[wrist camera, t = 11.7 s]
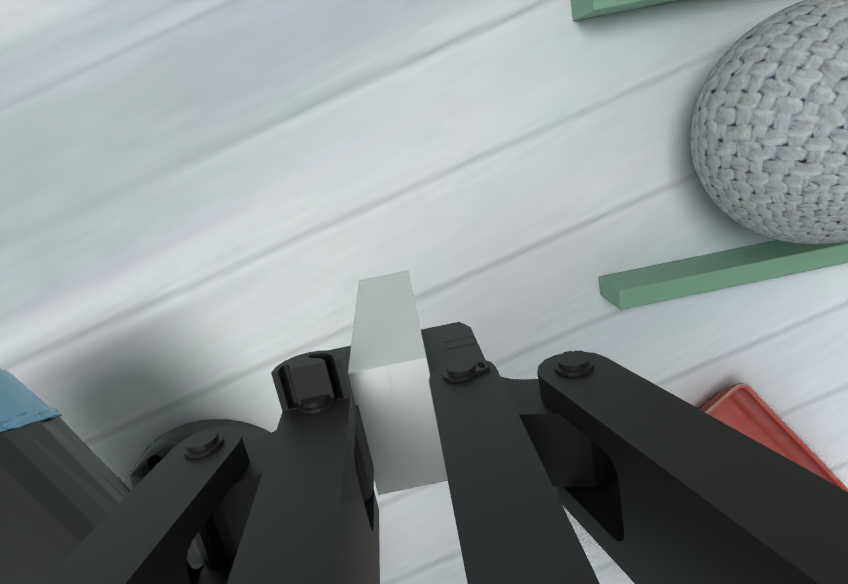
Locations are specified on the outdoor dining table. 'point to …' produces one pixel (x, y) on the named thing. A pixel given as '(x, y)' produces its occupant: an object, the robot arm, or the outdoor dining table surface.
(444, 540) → the outdoor dining table surface
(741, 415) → the plant saucer
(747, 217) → the decorative ball
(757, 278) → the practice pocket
